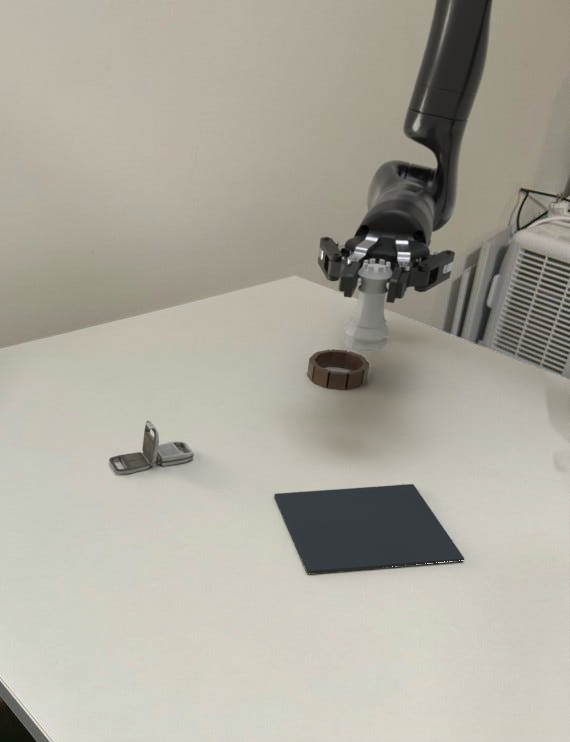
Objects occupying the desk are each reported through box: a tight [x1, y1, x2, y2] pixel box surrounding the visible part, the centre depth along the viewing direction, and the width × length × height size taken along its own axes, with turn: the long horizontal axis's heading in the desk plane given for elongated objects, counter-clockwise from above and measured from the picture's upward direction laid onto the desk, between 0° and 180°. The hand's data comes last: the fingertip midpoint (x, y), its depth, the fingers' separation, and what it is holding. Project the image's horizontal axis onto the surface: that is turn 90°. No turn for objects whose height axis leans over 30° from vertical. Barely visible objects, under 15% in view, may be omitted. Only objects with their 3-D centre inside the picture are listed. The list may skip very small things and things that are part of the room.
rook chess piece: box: [342, 259, 392, 353], centre depth 79 cm, size 4×4×8 cm
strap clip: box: [108, 420, 195, 474], centre depth 84 cm, size 8×3×4 cm, turn 111°
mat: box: [273, 483, 465, 575], centre depth 76 cm, size 14×12×1 cm
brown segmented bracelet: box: [307, 348, 370, 391], centre depth 101 cm, size 7×7×2 cm
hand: (370, 289), depth 76 cm, fingers closed on rook chess piece, 3 cm apart
